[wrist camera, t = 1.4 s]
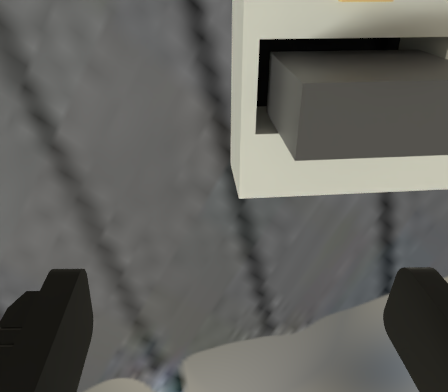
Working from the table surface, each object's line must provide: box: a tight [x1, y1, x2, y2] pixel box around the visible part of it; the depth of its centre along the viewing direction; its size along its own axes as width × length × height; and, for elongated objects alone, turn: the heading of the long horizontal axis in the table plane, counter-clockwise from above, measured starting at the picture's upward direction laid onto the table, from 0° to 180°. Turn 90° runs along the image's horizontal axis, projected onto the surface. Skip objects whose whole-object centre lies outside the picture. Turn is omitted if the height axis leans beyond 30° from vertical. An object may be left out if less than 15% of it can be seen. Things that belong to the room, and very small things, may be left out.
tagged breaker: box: [266, 49, 448, 161], centre depth 23 cm, size 4×10×8 cm, turn 90°
